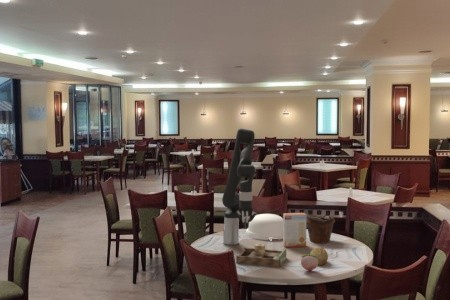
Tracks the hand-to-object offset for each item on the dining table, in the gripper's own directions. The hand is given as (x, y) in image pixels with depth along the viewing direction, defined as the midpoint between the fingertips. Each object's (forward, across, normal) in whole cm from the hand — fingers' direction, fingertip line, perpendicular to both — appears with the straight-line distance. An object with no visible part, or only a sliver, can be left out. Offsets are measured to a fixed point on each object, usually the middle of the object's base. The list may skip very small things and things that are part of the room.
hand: (245, 228), depth 290 cm
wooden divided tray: (+17, +10, -4) cm, 20 cm away
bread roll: (+17, +42, +3) cm, 46 cm away
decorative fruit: (+17, +39, -14) cm, 45 cm away
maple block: (+14, +8, 0) cm, 16 cm away
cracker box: (+17, +23, +34) cm, 44 cm away
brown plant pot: (+17, +37, +52) cm, 66 cm away
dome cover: (+18, 0, +58) cm, 60 cm away
